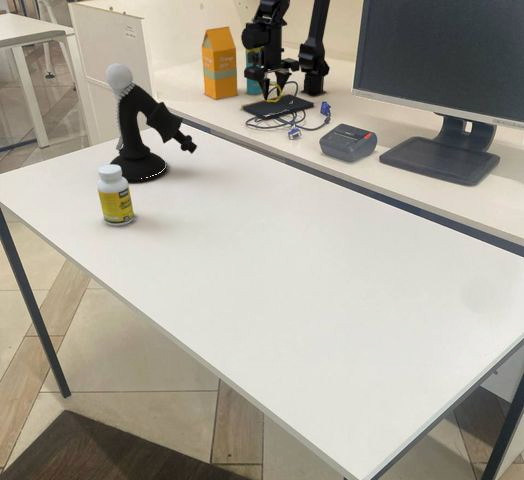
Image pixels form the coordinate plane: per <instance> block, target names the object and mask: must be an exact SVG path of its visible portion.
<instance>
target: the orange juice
mask: <svg viewBox="0 0 524 480" xmlns="http://www.w3.org/2000/svg"><path fill="white" fill-rule="evenodd" d="M201 58H202V73H203V74H202V75H203V84H204V94H205V95H206V96H208V97H210V98H212V99H214V100H220V99H224V98H230V97H234V96H238V94H239V93H238V68H237V67H238V65H237V47H236V44H235V42H234V38H233V35H232V32H231V29H230V26H223V27H216V28H208V29H205V33H204V36H203V40H202V44H201Z"/></svg>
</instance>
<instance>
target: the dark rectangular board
mask: <svg viewBox="0 0 524 480" xmlns="http://www.w3.org/2000/svg"><path fill="white" fill-rule="evenodd" d="M276 99H278V96H277V95H276V96H273V97H268V99H267V100H276ZM292 100H293V104H289V103H290V102H291V101H292ZM314 106H315V103H314V102H312V101H309V100H308V99H304V98H301V97H299V96H296V95H293V94H291V93H284V94H281V97H280V99H279V101H277V102H276V103H275V102H267V101H266V100H265V99H262V100H258V101H257V100H256V101H254V102H249V103H246V104H242V105H241V106H240V110H242V111H244V112H247V113H249V114H251V115H253V116H256V117H258V118H260V119H262V120H264V121H268V120H272V119H275V118H280V117H283V116H285V115H289V114H294V113H297V112H300V111H303V110H307V109H310V108H314ZM285 109H287V110H289V111H286V112H282V113H279V114H275V115H271V116H268V117H265V116H263V115H267V114H269V113H278V112H281V111H283V110H285Z"/></svg>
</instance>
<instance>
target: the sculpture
mask: <svg viewBox="0 0 524 480" xmlns="http://www.w3.org/2000/svg"><path fill="white" fill-rule="evenodd" d="M105 80H106V83H107V85H108V86H109V87H110V89H109V90H110V91H111V92H112V93H113V96H114V100H115V102H116V110H115V111H116V123H117V128H118V131H119V133H118V134H119V139H118V141H117V144H116V147H115V150H116V151H118V154H119V155H117V156H116V157H115V158H113V159H112V160H111V161H110V162H109V164H108V165H110V164H113V165H118V166H120V167H121V170H122V177H124V178H125V179H126V180H127V181H128V184H137V183H138V184H141V183H145V182H151V181H155V180H156V179H158V178H160V177H162V176H164V175H165V174H166V172H167V171H168V165H167V166H166V168H165V161H166V160H165V159H164V158H162V157H161V156H160V155H158V154H156V153H154V152H151V150H152V149H151V147H149V146H147V145H146V144H145V143H144V142H143V139H142V135H141V131H140V127H139V122H138V121H139V120H138V116H139V113H142V114H143V115H144V117H145V118H146V121H145V125H146V126H148V127H150V128H152V129H153V130H155V131H156V132H157V133H158V135H159V136H160V138H161V140H162V143H163V144H166V143H168V142H169V141H171V140H172V139H173V140H174V141H176V142H177V143H178V144H179V145H180V147H179V148H180V150H181V151H183V152H189V153H190V155H192V154H193V153H194V152H195V151H196V150H197V148H198V145H197V144H196V143H195V142H194V141H193V137H192V135H190V134H187V135H185V134H184V133H183V132H182V131H181V130H180V128H181V127H182V123H183V120H184V118H183V117H179V116H176V115H175V114H173V113H172V112H171V111H170V110H169V109H168V107H167V106H166V104H165V102H164V101H160V102H158V101H157V100H156V99H155V98H153V96H152V95H151V94H150V93H149V92H147V91H146V90H145V89H144V88H143V87H141V86H140V85H138V84H136V83H135V82H134V81H133V80H134V75H133V72H132V70H131V69H130V68H129V67H128V66H127V65H126V64H124V63H120V62H115V63H112V64H111V65H109V66H107V69H106V70H105ZM163 159H164V160H165V161H164V160H163ZM164 168H165V169H164ZM163 169H164V170H163ZM162 170H163V171H162ZM161 171H162V172H161ZM159 172H161V173H159ZM158 173H159V174H158ZM155 174H157V175H155ZM152 175H154V176H152ZM150 176H151V177H150ZM146 177H148V178H146ZM141 178H142V179H141Z"/></svg>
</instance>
